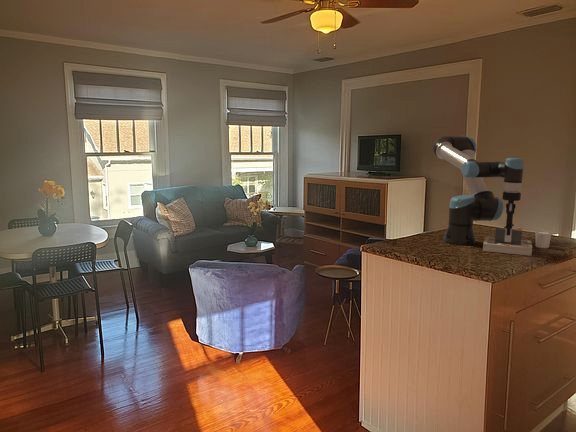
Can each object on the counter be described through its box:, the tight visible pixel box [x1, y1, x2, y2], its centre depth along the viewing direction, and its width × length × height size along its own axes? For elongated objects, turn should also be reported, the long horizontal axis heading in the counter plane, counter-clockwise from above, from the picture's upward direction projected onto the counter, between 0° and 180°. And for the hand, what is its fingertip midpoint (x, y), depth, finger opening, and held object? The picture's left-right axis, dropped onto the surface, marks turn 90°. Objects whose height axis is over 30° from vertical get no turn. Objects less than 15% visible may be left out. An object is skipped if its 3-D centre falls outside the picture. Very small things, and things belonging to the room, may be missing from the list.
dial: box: [494, 227, 523, 246], centre depth 211 cm, size 12×12×8 cm
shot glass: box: [534, 231, 552, 249], centre depth 217 cm, size 7×7×7 cm
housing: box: [482, 236, 533, 257], centre depth 212 cm, size 20×18×4 cm
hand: (507, 240), depth 211 cm, fingers open, 5 cm apart
